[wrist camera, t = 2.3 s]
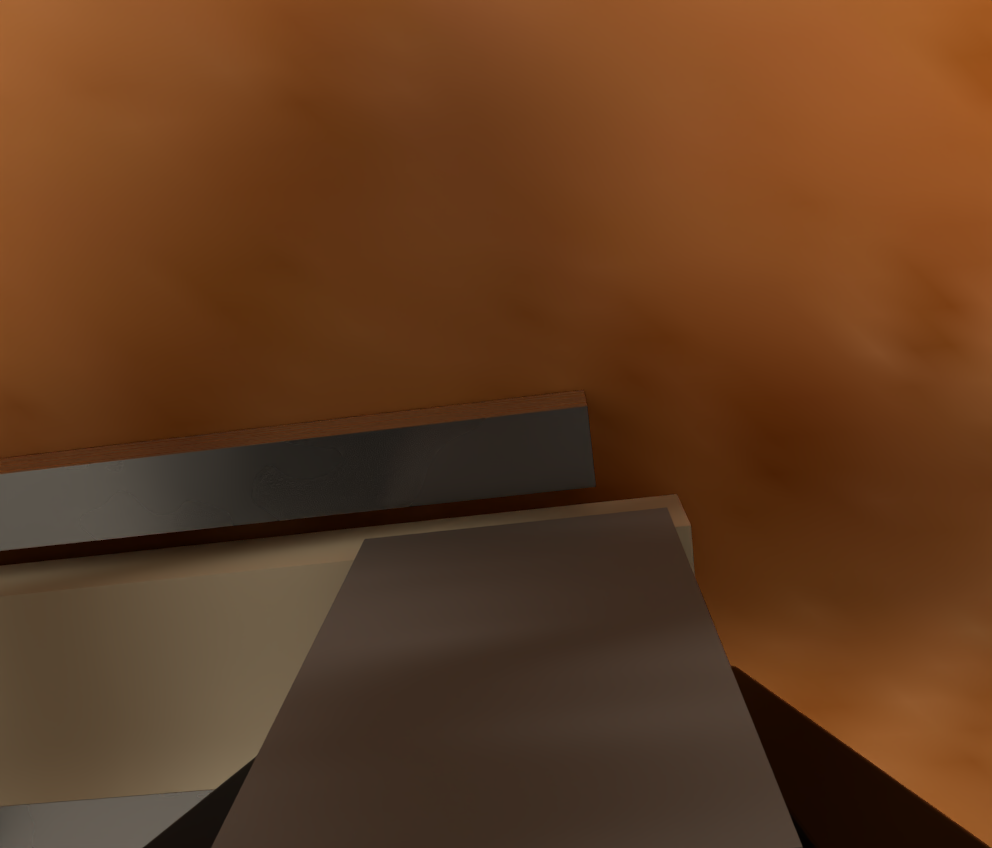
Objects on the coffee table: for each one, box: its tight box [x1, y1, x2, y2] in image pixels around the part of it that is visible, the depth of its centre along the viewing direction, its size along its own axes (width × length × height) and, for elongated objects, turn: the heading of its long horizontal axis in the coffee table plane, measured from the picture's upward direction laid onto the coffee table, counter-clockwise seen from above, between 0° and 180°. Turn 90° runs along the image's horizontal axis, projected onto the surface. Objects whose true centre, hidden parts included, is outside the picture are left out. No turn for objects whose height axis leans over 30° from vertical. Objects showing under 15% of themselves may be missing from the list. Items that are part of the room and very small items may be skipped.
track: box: [0, 390, 596, 848], centre depth 11 cm, size 13×6×1 cm, turn 98°
